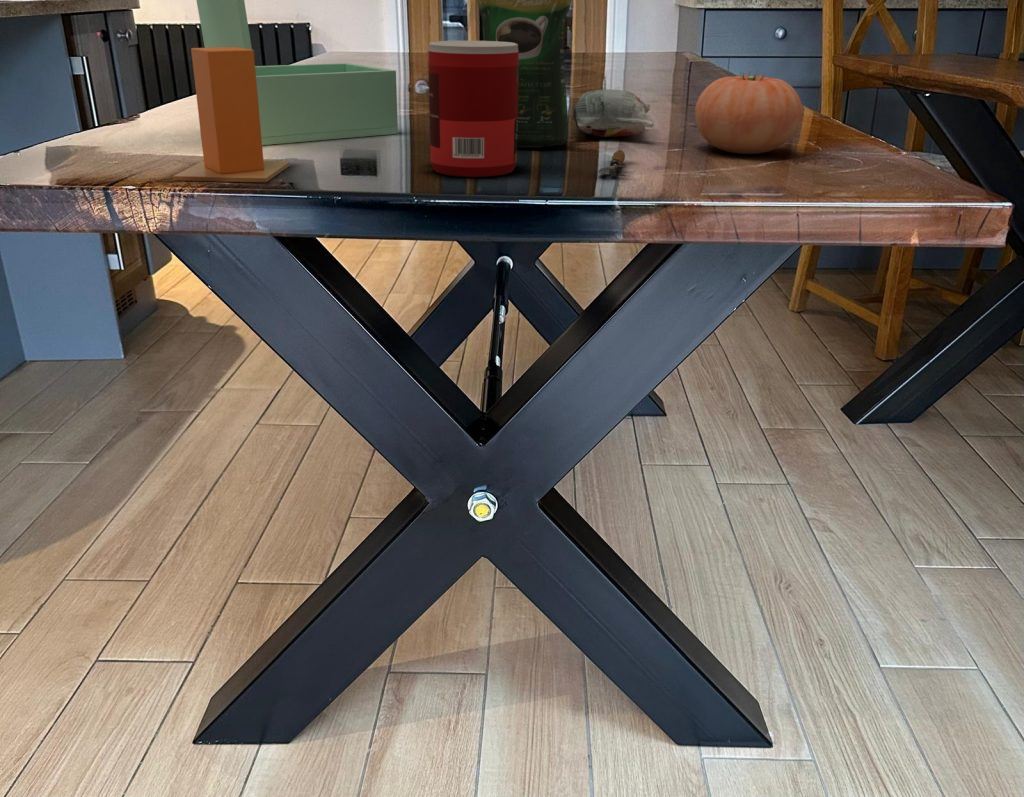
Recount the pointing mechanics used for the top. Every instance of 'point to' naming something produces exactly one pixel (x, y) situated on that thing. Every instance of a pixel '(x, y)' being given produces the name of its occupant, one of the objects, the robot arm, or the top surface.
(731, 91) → the orange pumpkin
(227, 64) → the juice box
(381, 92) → the box
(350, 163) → the top surface
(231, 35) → the lunchbox lid
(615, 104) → the packaged food
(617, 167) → the can opener
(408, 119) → the top surface
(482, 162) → the canned food
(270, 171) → the coaster
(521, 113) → the green coffee bag
